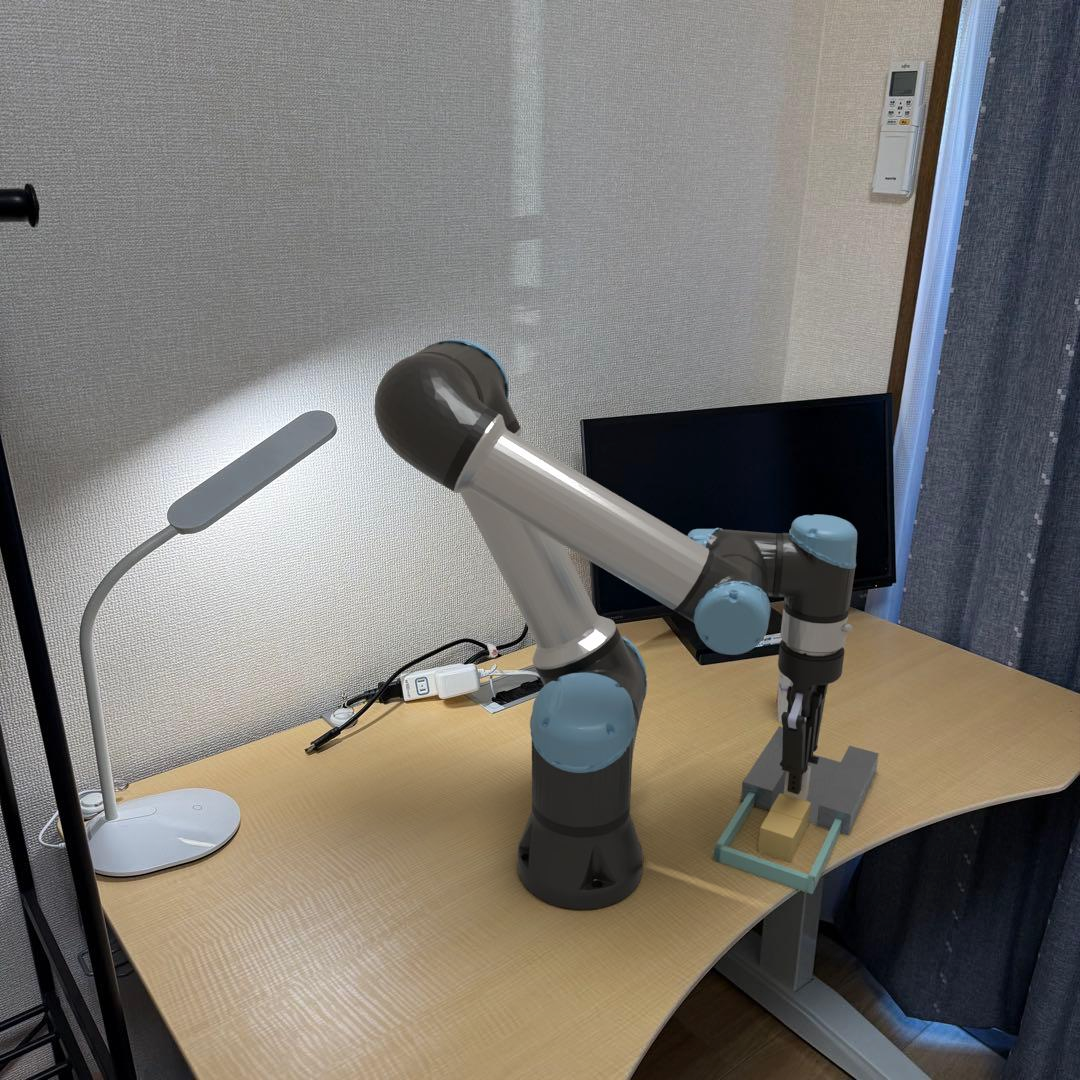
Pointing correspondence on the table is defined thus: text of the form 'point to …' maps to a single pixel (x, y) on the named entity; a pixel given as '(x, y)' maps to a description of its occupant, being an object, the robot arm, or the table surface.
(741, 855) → the teal u-shaped bar frame
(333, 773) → the table surface
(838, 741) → the table surface
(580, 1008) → the table surface
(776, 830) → the tan wooden cube
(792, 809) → the beige wooden block
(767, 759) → the slot board
